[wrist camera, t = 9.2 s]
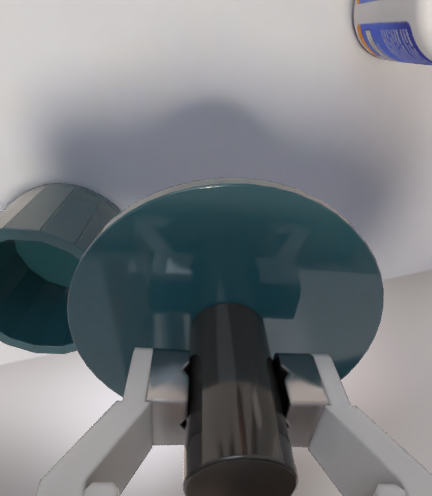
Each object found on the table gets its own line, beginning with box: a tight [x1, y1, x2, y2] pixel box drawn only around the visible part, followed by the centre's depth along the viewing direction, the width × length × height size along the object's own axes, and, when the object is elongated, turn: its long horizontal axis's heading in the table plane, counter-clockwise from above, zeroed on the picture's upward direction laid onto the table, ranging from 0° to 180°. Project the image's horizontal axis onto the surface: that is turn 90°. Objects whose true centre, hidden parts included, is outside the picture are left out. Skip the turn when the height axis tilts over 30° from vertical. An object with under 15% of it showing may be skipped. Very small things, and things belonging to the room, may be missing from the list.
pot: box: [0, 184, 121, 354], centre depth 23 cm, size 9×9×6 cm
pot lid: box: [67, 178, 383, 496], centre depth 10 cm, size 10×10×6 cm
